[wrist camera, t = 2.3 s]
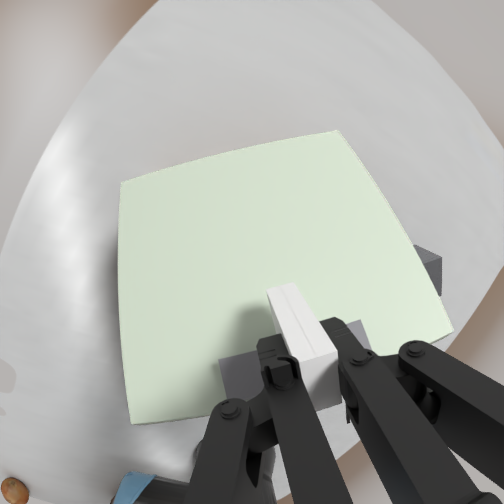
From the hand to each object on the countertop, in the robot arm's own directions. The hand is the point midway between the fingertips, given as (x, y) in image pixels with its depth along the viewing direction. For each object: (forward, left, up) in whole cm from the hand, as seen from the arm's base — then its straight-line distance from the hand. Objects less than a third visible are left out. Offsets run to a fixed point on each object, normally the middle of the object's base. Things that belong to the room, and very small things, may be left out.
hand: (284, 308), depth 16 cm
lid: (+1, 0, -6) cm, 6 cm away
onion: (-57, +87, -24) cm, 107 cm away
